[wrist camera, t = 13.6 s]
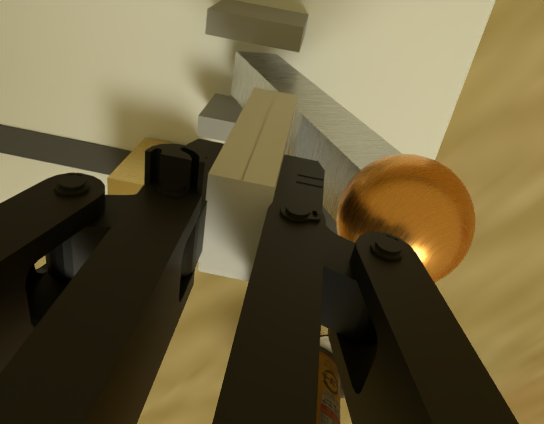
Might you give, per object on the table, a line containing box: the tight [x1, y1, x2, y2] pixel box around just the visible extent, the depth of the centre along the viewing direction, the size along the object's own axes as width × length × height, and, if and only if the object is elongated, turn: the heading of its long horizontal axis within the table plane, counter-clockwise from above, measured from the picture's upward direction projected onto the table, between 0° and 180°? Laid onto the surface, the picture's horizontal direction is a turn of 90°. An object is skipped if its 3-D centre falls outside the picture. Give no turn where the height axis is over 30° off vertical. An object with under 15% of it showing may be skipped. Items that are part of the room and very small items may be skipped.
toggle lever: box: [231, 51, 475, 282], centre depth 17 cm, size 4×4×14 cm
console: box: [0, 0, 495, 262], centre depth 24 cm, size 32×26×8 cm
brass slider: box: [107, 138, 175, 195], centre depth 25 cm, size 4×4×5 cm
